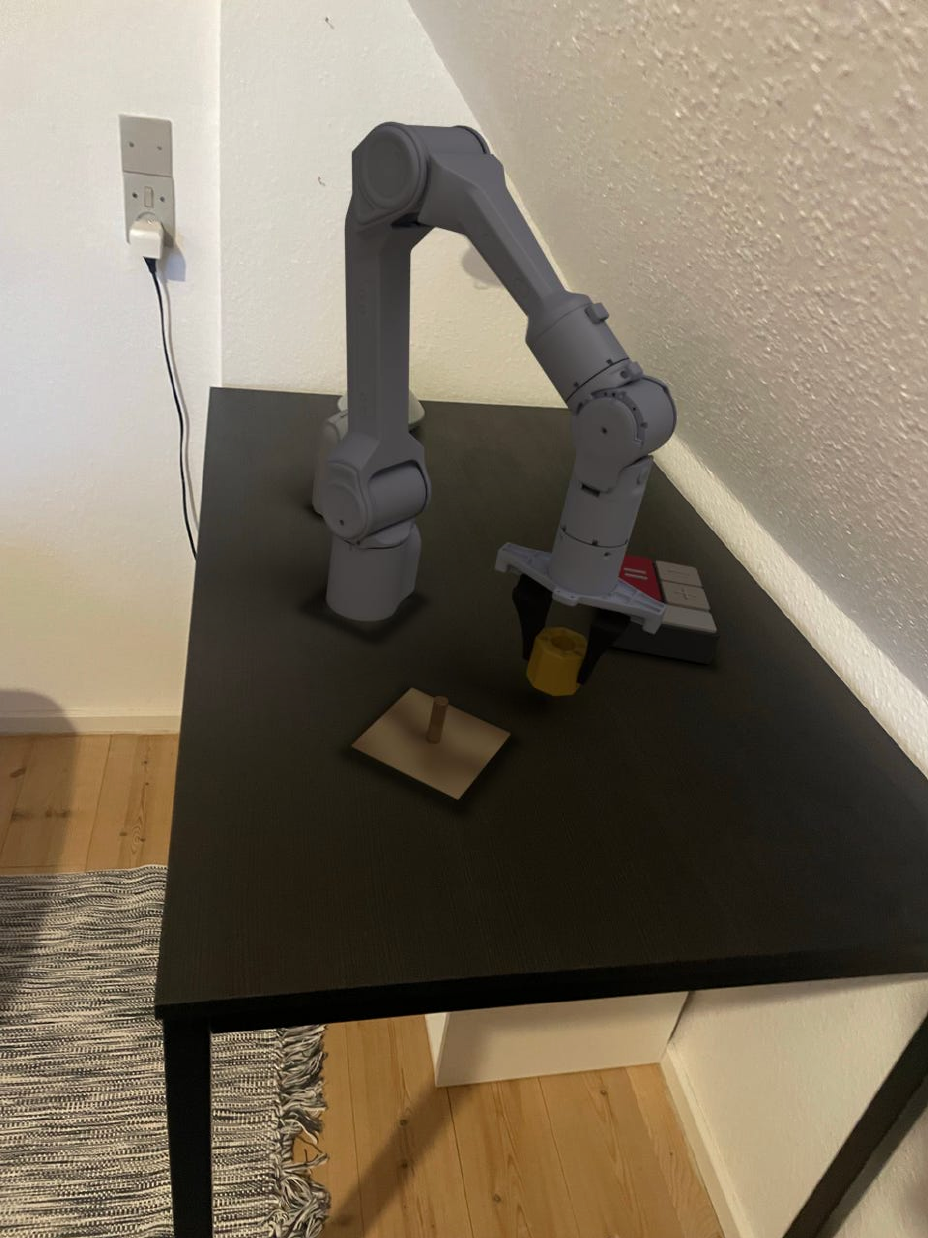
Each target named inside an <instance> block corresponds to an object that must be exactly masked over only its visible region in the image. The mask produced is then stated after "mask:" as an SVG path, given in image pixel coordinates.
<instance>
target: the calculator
mask: <svg viewBox="0 0 928 1238" xmlns="http://www.w3.org/2000/svg"><path fill="white" fill-rule="evenodd" d="M618 577H619V578H620V579H622V580H624V581H625V582H627V583H628V584H630V585H632V586H633V587H635V588H636V589H638V590H640V591H641V592H643V593H644V594H646V595H648V596H649V597H651V598H653V599H655V600H657V601H659V602H661V603H664V604H666V605H667V609H666V611H665V614H664V617H663V620H662V623H661V625H660V627H659V628H658V630H657V631H656V633H655V634H652V633H649V632H647V631H644V630H643V629H642V628H643V625H640V624H638V623H635V622H633V621H632V622H631V623H630V624H629V626H628V627H627V628H626V630H625V631H624V632H623V634H622V635H621V636H620V637H619V638H618V639H617V640H616V641H615V642H614V643H613V644H612V645H611V646H610V647H611V648H617V649H622V650H628V651H634V652H637V653H644V654H650V655H653V656H654V655H655V656H660V657H665V658H666V657H667V658H671V659H677V660H682V661H687V662H693V663H699V664H704V665H709V664H711V662H712V659H713V657H714V655H715V652H716V649H717V646H718V644H719V640H720V638H721V633H720V630H719V628H718V625H717V622H716V621H717V620H716V619H715V616H714V613H713V610H712V608H711V605H710V602H709V599H708V597H707V594H706V591H705V588H704V584H703V581H702V579H701V576H700V574H699V572H698V569H697V568H696V567H694V566H690V565H684V564H680V563H679V564H678V563H674V562H669V561H662V560H655V562H652V559H650V558H646V557H642V556H636V555H631V554H626V553H625V556H624V559H623V562H622V566H621V569H620V572H619V575H618Z"/></svg>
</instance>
